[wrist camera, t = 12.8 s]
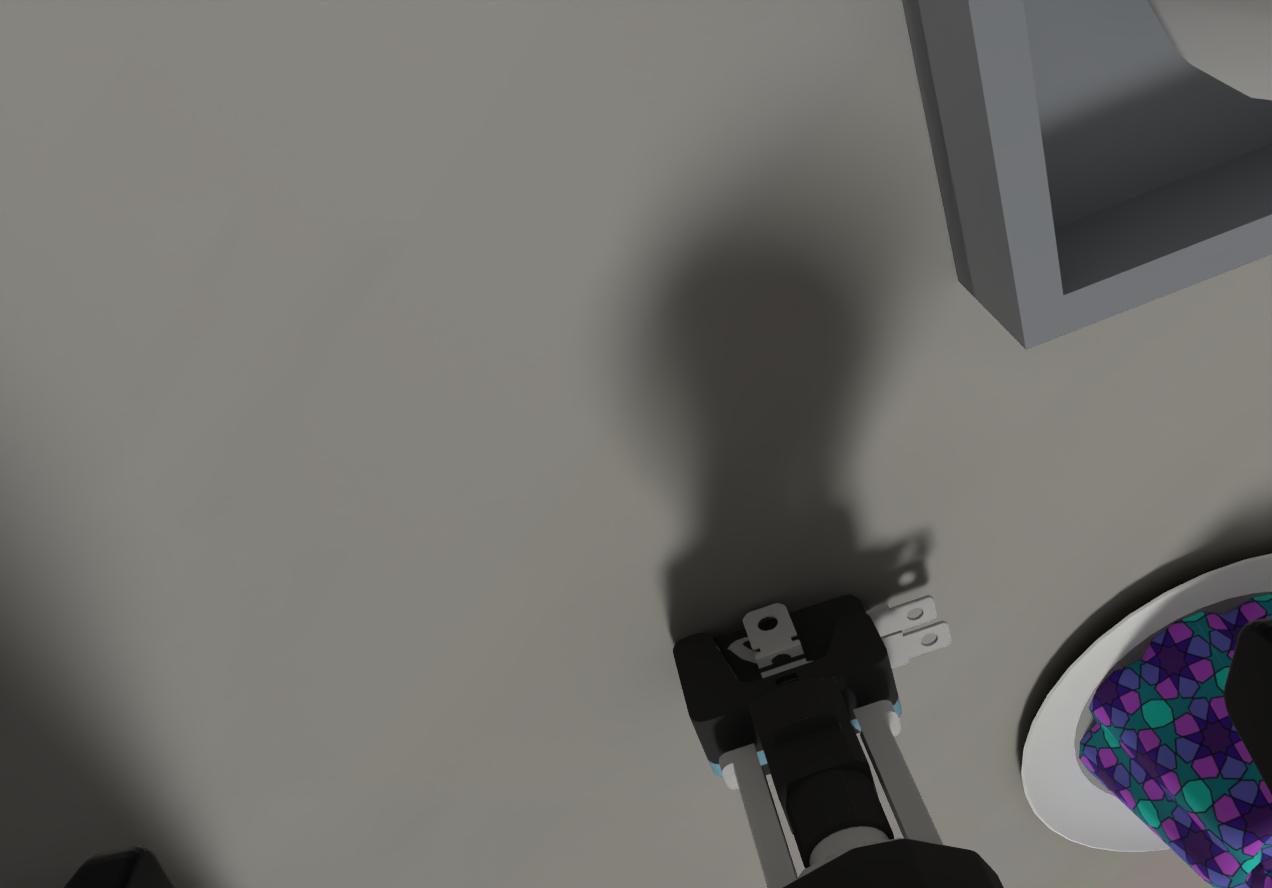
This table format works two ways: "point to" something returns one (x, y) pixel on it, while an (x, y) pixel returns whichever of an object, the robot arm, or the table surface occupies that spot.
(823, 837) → the push button
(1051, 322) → the grey tray
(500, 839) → the table surface
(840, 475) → the table surface
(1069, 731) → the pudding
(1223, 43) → the salt shaker
